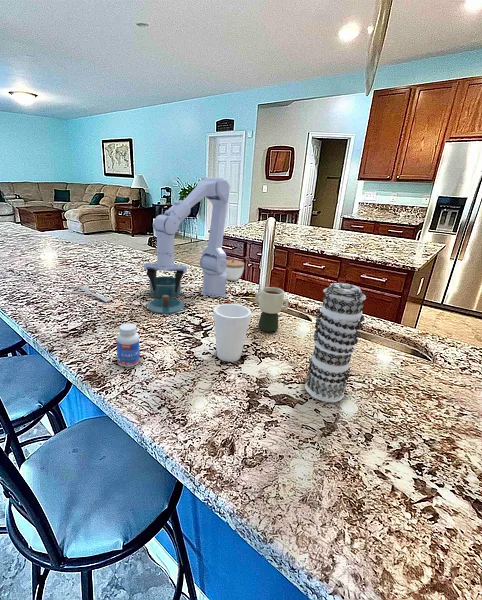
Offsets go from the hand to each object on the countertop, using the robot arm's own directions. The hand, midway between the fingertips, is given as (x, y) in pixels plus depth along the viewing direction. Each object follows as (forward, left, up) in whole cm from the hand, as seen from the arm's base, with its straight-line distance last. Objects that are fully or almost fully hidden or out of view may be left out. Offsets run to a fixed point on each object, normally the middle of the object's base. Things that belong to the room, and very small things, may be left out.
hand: (165, 290), depth 112 cm
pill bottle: (+2, +36, -7) cm, 37 cm away
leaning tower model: (-45, +41, -7) cm, 61 cm away
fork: (+30, -7, -7) cm, 32 cm away
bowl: (+3, -14, -6) cm, 16 cm away
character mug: (-35, +11, -7) cm, 37 cm away
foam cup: (-23, +29, -7) cm, 38 cm away
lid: (0, 0, -6) cm, 6 cm away
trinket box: (-23, -41, -7) cm, 47 cm away
